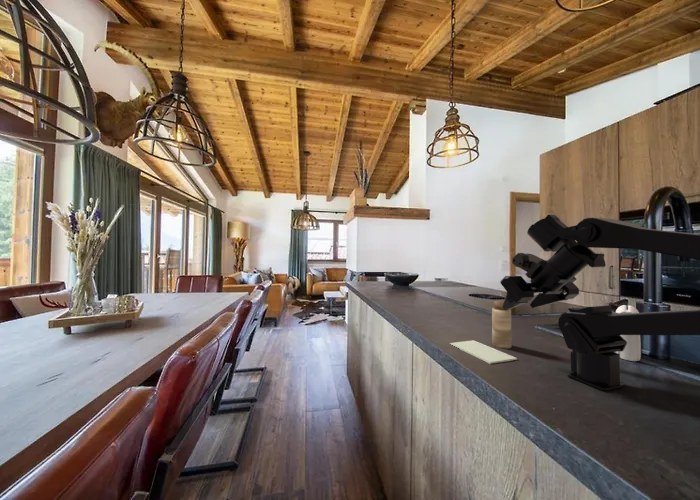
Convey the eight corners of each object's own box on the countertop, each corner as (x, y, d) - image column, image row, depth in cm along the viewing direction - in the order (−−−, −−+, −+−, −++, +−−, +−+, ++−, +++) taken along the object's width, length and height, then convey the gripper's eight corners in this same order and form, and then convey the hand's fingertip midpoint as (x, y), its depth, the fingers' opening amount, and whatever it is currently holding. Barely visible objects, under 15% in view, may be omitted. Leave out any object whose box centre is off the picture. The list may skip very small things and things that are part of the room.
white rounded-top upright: (616, 348, 72) (615, 301, 72) (640, 352, 68) (639, 304, 69) (615, 358, 64) (614, 307, 65) (641, 363, 61) (640, 309, 62)
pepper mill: (515, 347, 72) (515, 302, 72) (502, 349, 71) (501, 303, 71) (501, 342, 77) (500, 300, 77) (488, 343, 75) (488, 300, 75)
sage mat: (517, 359, 64) (516, 358, 64) (490, 363, 61) (490, 362, 61) (473, 341, 77) (473, 340, 77) (450, 344, 75) (450, 343, 75)
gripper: (564, 242, 67) (524, 282, 77) (506, 241, 61) (472, 284, 72) (603, 276, 59) (553, 315, 70) (540, 278, 54) (496, 320, 64)
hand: (518, 307), depth 69 cm, fingers open, 9 cm apart
